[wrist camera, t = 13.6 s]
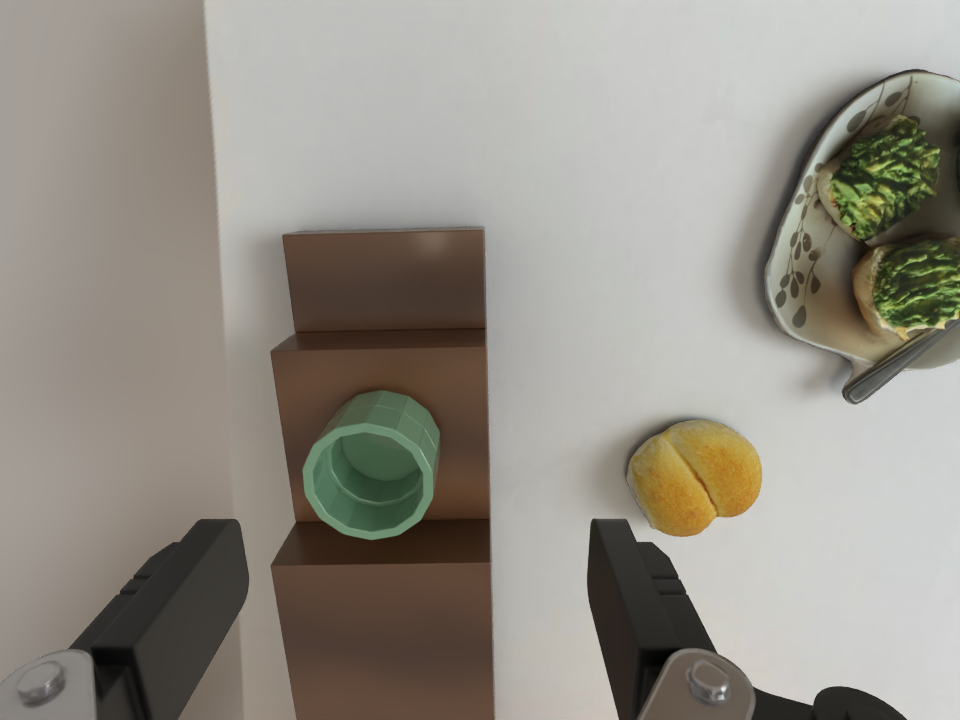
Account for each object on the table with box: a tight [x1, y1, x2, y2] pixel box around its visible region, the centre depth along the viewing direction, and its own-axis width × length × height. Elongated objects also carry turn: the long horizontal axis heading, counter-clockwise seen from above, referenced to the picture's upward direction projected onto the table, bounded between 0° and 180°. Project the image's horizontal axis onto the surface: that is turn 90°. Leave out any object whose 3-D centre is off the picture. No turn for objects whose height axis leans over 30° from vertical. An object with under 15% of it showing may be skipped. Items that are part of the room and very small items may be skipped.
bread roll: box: [626, 420, 762, 537], centre depth 37 cm, size 8×9×4 cm
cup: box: [302, 390, 440, 540], centre depth 29 cm, size 6×6×5 cm
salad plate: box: [764, 69, 960, 405], centre depth 32 cm, size 19×18×5 cm
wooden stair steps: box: [271, 227, 495, 720], centre depth 38 cm, size 61×12×11 cm, turn 1°
